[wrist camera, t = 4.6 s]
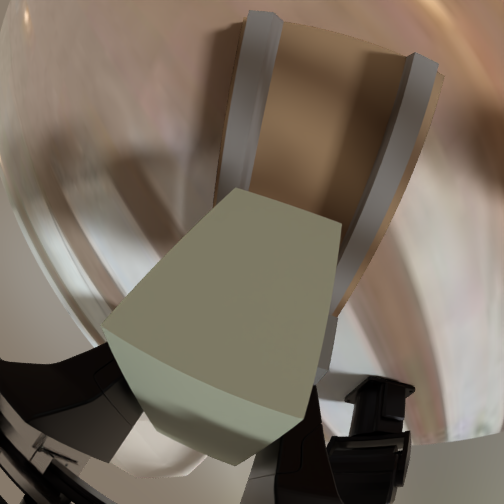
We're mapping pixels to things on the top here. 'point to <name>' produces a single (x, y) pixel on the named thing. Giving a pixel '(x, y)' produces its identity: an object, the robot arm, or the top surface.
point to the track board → (326, 130)
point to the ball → (154, 453)
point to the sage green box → (232, 326)
